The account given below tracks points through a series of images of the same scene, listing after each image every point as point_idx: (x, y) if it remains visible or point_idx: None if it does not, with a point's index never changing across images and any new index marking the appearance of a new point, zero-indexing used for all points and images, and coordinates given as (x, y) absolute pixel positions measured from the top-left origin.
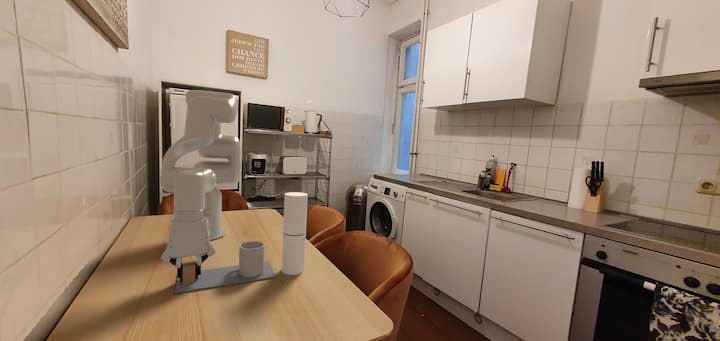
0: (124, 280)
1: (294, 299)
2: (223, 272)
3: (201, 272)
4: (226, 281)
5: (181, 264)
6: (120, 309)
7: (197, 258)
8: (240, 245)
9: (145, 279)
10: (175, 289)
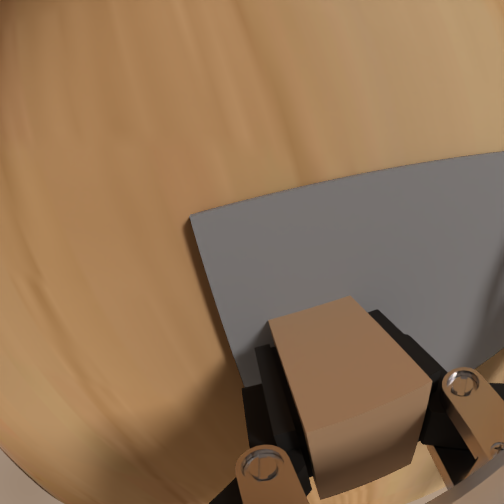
0: None
1: None
2: (485, 241)
3: (381, 223)
4: (477, 348)
5: (306, 494)
6: (122, 488)
7: (452, 483)
8: None
9: (12, 272)
10: None
